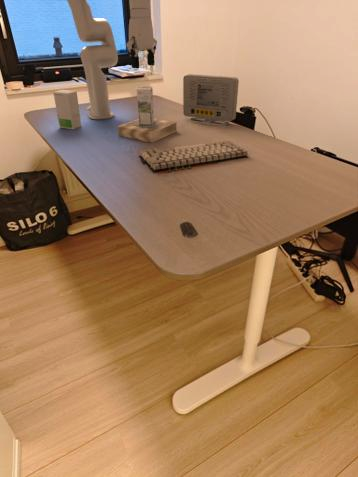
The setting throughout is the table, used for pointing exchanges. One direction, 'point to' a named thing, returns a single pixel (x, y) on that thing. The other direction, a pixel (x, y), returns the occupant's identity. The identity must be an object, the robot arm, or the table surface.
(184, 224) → the block
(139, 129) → the birch platform
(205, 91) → the network device
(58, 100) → the skincare box
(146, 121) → the syrup box
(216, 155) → the mechanical keyboard
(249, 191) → the table surface
